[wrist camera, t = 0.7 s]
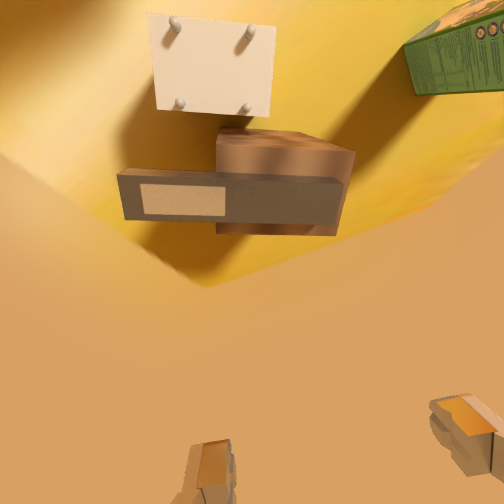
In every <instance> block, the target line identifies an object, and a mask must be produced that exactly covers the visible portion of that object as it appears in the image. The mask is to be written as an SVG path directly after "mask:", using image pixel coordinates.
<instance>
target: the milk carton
mask: <svg viewBox="0 0 504 504" xmlns="http://www.w3.org/2000/svg"><path fill="white" fill-rule="evenodd" d="M403 48H404V52H405V56H406V60H407V63H408V67H409V71H410V75H411V79H412V82H413V86H414V90H415V94H416V96H426V95H444V94H463V93H481V92H499V91H504V0H471V1H469V2H466V3H464V4H462V5H460V6H457V7H455V8H453V9H452V10H450V11H449V12H448V13H446V14H445V15H444V16H442V17H441V18H439V19H438V20H437V21H435V22H434V23H432V24H431V25H430V26H428V27H427V28H425V29H424V30H423V31H421V32H420V33H418V34H417V35H416V36H414V37H413V38H411V39H410V40H409V41H407V42H406V43H405V44H403Z"/></svg>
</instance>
